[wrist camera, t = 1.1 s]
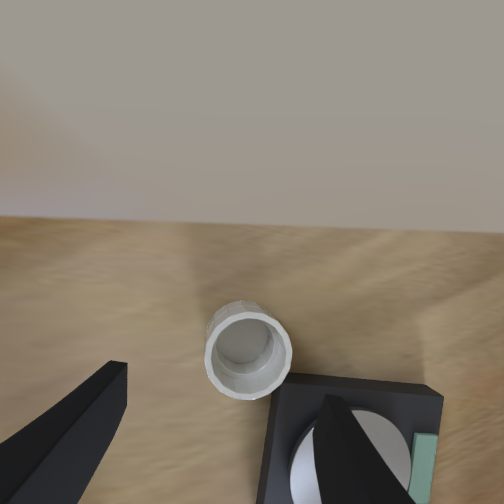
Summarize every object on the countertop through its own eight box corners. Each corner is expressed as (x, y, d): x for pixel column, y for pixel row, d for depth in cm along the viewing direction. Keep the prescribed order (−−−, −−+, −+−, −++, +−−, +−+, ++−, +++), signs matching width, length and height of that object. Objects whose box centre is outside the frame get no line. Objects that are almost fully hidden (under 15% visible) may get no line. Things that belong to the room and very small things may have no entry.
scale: (407, 515, 25) (428, 544, 22) (254, 511, 23) (259, 543, 21) (425, 384, 25) (449, 399, 22) (275, 370, 23) (282, 385, 21)
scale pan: (396, 531, 22) (402, 539, 21) (278, 529, 21) (280, 537, 20) (414, 410, 22) (419, 414, 21) (297, 401, 21) (299, 406, 20)
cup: (270, 372, 23) (285, 403, 19) (201, 366, 22) (198, 396, 18) (281, 304, 23) (297, 317, 19) (211, 295, 22) (211, 307, 18)
